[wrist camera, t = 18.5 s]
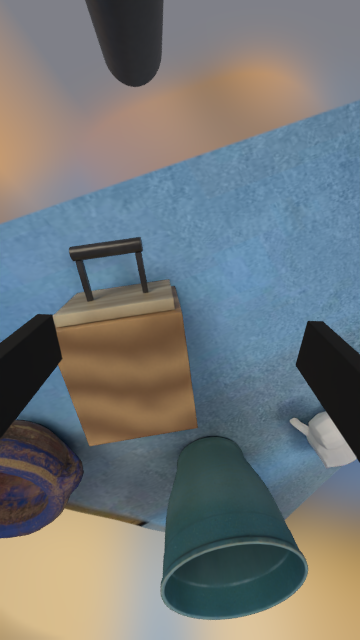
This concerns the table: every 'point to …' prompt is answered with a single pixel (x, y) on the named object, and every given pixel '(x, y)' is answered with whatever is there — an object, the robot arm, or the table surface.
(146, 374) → the cabinet
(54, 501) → the bowl
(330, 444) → the white turtle figurine
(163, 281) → the drawer
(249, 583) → the flower pot
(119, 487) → the table surface
